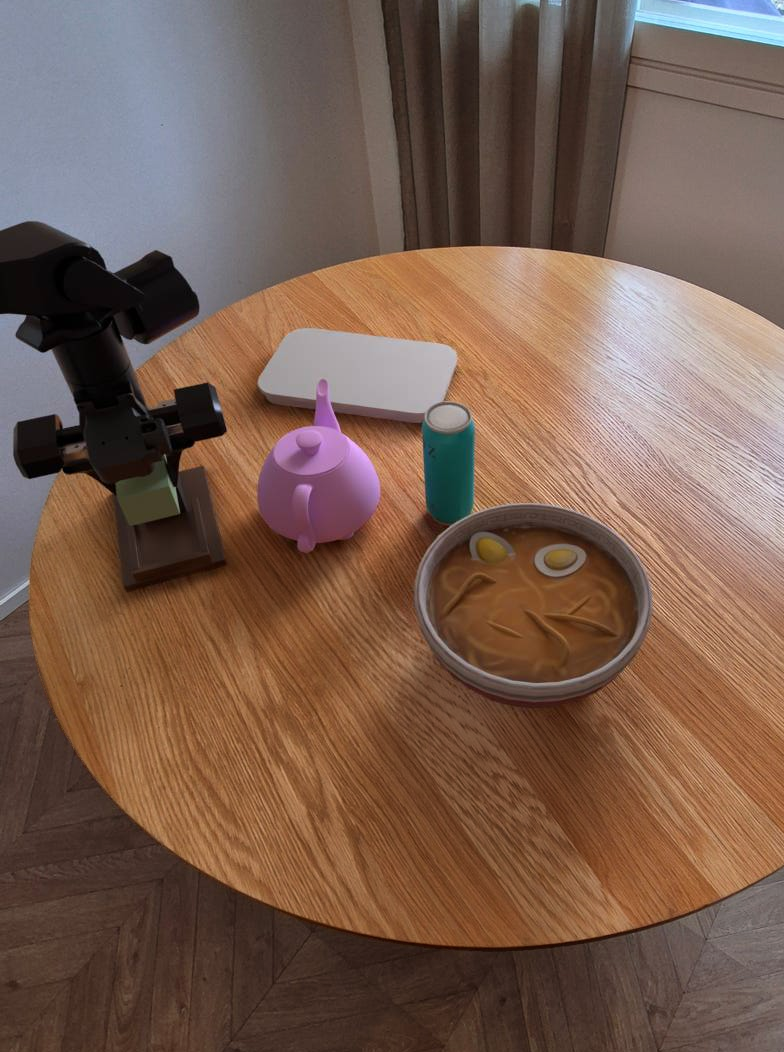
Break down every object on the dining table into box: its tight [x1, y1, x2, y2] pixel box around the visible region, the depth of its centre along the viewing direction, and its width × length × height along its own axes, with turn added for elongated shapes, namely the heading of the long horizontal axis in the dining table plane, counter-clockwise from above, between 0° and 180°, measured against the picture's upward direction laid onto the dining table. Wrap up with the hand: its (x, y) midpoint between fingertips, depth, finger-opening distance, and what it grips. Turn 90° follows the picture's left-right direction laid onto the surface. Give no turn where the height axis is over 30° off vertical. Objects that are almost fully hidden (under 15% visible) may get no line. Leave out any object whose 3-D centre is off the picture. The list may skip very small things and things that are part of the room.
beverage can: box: [421, 400, 476, 527], centre depth 90 cm, size 6×6×15 cm
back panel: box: [112, 465, 228, 593], centre depth 91 cm, size 11×17×5 cm, turn 21°
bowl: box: [413, 502, 654, 710], centre depth 79 cm, size 23×23×10 cm
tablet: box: [257, 327, 459, 424], centre depth 112 cm, size 16×26×2 cm, turn 79°
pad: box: [116, 455, 180, 526], centre depth 82 cm, size 5×7×4 cm
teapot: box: [256, 379, 381, 554], centre depth 91 cm, size 20×14×12 cm
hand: (148, 490), depth 82 cm, fingers closed on pad, 5 cm apart
